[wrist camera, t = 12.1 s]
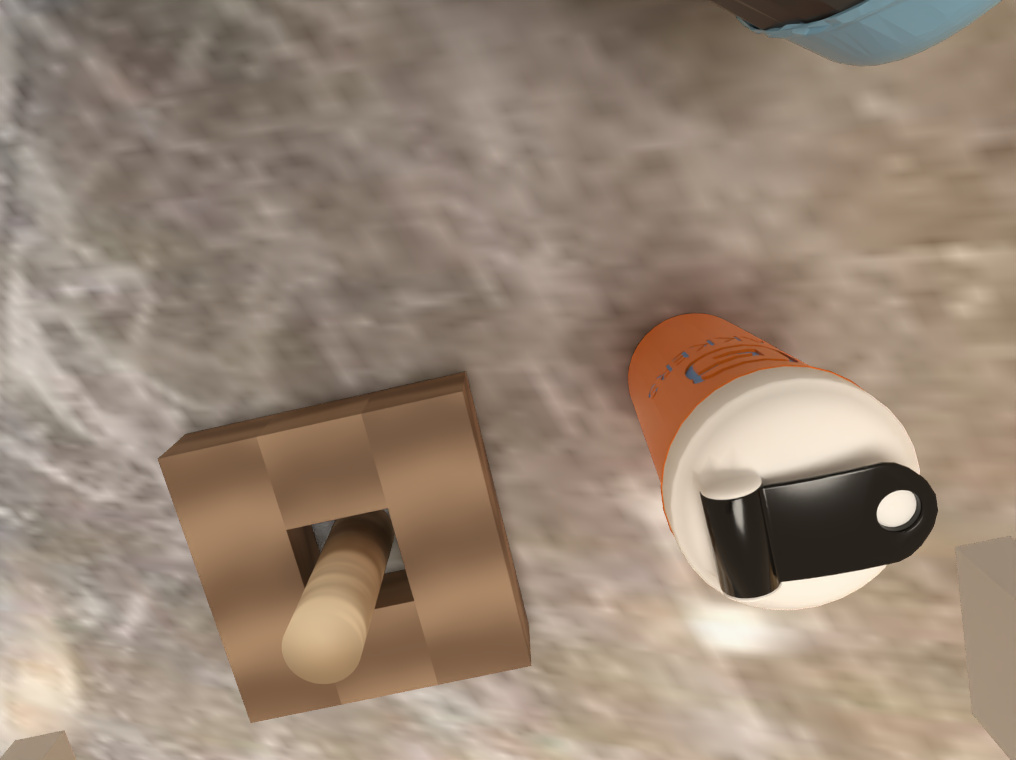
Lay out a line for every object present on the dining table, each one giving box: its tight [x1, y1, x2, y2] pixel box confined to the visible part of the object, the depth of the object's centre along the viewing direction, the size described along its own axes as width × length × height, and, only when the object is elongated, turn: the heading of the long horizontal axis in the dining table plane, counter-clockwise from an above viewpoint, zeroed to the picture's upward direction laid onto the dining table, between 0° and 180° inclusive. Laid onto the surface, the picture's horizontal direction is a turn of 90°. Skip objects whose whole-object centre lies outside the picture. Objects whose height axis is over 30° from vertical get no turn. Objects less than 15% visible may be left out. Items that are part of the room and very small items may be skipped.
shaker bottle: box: [628, 313, 938, 610], centre depth 37 cm, size 9×9×20 cm
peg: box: [282, 509, 395, 684], centre depth 44 cm, size 4×4×12 cm
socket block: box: [158, 372, 531, 723], centre depth 47 cm, size 16×16×4 cm
